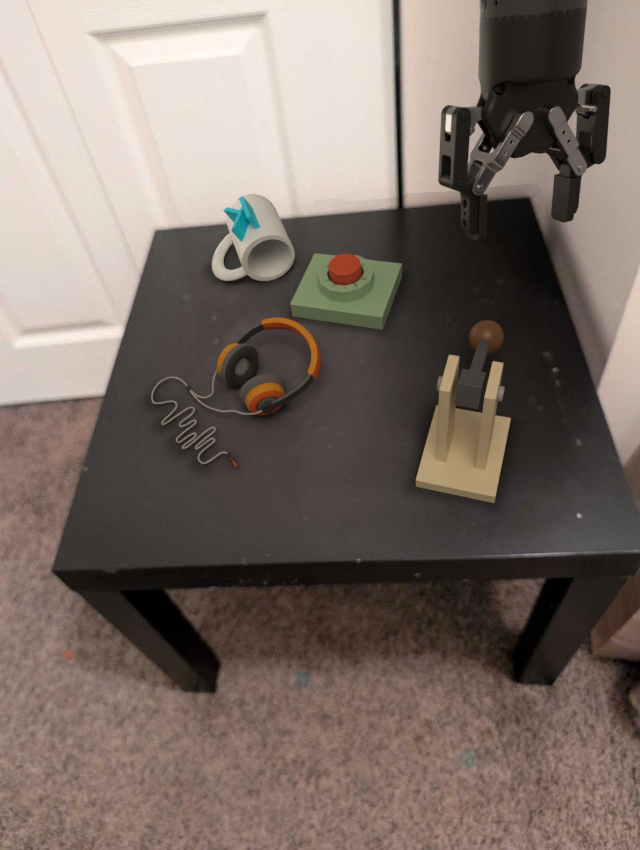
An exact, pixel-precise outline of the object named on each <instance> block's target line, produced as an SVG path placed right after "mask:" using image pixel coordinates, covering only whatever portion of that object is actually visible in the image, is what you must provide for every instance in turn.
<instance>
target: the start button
mask: <svg viewBox="0 0 640 850" xmlns="http://www.w3.org/2000/svg"><path fill="white" fill-rule="evenodd" d="M355 255H356V254H352V253H341V254H337V255H334V256H335V257H334V258H332V259H331V261H330V262H329V274H330V279H331V280H332V281H333V282H334V283H335V284H338V285H349V284H353V283H355V282H357V281H358V280H359V279H360V277H361V274H362V273H361V262H360V260H359V258H358V257H356V256H355Z"/></svg>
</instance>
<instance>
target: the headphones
mask: <svg viewBox="0 0 640 850" xmlns="http://www.w3.org/2000/svg"><path fill="white" fill-rule="evenodd" d="M272 330H285V331H290V332H293V333H295V334H297V335H299V336H300V337H301V338H302V339H303V340H304V341H305V342H306V344H307V345H308V347H309V350H310V353H311V355H310V363H309V366H308V369H307V376H306V377H305V379H304V380H303V381H302V382H301V383H300V384H299V385H297V386H296V387H295V388H293V389H291V390H290V391H289V392H287V386H286V384H285V381H284V379H283V378H282V377H281V376H280V375H278V374H276V373H262V374H257V375H256V376H254V375H255V373H256V371H257V369H258V366H259V359H260V358H259V353H258V350H257V349H256V347H254V346H253V345H251V344H249V343H247V342H248V341H249V340H250V339H251V338H252V337H254V336H255V335H256V334H258V333H261V332H263V331H272ZM216 361H217V362H216V370H215V371H214V373H213V376H212V381H211V393H210V394H209V395H207V396H206V395H205V396H202V395H199V394H197V393H196V392H195V391H193V388H191V386H190V385H188V384H187V383H186V382H185V380H184V379H182V378H180V377H177V376H173V375H171V376H167V377H164V378H162V379H160V380H159V381H158V382H157V383H156V385H155V386H154V387H153V389H152V391H151V394H150V397H151V398H150V399H151V402H152V404H154V405H163V404H168V403H174V405H175V407H174V408H173V409H172V410H171V412H170V413H169V414H168V415H167V416H165V417H164V418H163V419H162V420H161V422H160V425H161V426H165V425H167V424H169V423H170V422H172V421H174V420H175V419H177V418H178V417H179V416H181V415H182V414H183V413H185V412H186V411H188V410H190V409H192V411H191V413H190V414H189V415H187V416H186V417H185V418H183V419H181V420H180V421H179V423H178V426H179V428H185V427H187V426H189V425H190V426H189V427H187V428H186V429H184V430H183V431H181V433H179V434H178V435H177V436H176V438H175V442H176V443H177V444H181V443H182V442H184V441H186V439H188V438H190V437H191V438H190V439H189V440H188V441H186V442H184V444H182V446H181V449H182V450H186V449H189V448H190V447H191V446H192V445H194V444H195V443H196V442H197V441H198V440H199V439H200V438H201V437H203V436H204V435H205V434H206V433H208V432H209V431H211V432H210V433H209V434H208V435H206V436H205V437H203V439H201V440H200V441H199V442H198V443H196V445H195V446H194V450H196V451H198V450H200V449H201V448H202V447H203V446H205V445H206V444H207V445H206V446H205V447H204V448H202V449H201V451H199V453H198V455H197V461H198V463H200V464H201V465H207V464H209V463H211V462H212V461H214V460H215V459H217V458H218V457H219V456H220V455H222V454H224V455H225V456H226V458H227V460H228V461H229V462H230V463H232V464H233V465H234V467H235V468H238V464H237V463H236V461H235V459H234V457H233V456H232V455H231V454H230V453H229V452H227V451H220V452H218V453H217V454H216V455H214V456H213V457H211V458H210V459H208V460H207V461H201V455H202V454H203V453H204V452H205V451H206V450H208V449H209V448H210V447H211V446H212V445H214V444H215V443H216V440H217V439H216V438H215V437H211V436H213V434H215V433H216V431H217V427H216V426H210V427H208V428H207V429H205V430H204V431H203V432H202V433H201V434H199V435H198V433H197V432H195V431H194V432H191V433H189V434H187V435H186V436H185V437H184V438H182V439H180V440H179V438H181V437H182V436H183V435H184V434H185V433H186V432H188V431H189V430H191V429H192V428H193V427H195V425H196V424H197V423H198V421H197V419H191V420H190V421H188V422H186V423H185V424H183V423H184V422H185V421H187V420H188V419H190V418H191V417H192V416H193V415H194V414H195V412H196V408H195V407H194V406H187V407H186V408H184V409H183V410H181V411H180V412H178V413H177V414H175V415H174V416H172V415H173V414H174V413H175V412H176V410H178V406H179V405H178V402H177V401H176V400H172V399H171V400H166V401H165V400H164V401H158V402H156V401H155V400H154V394H155V391H156V389H157V388H158V386H160V384H161V383H164V382H165V381H167V380H171V379H176V380H178V381H180V382H181V383H183V385H184V386H185V389H186V390H187V392H188V393H190V394H191V396H193V398H194V399H195V400H196V401H197V402H198V403H199V404H200V405H202V406H203V407H205V408H207V409H209V410H211V411H215V412H219V413H236V414H240V415H244V416H253V415H255V416H267V415H271V414H274V413H275V412H277V411H278V410H279V409H281V408H282V406H283V405H286V404H288V403H289V402H291V401H292V400H294V399H296V398H297V397H299V396H300V395H301V394H302V393H305V391H306V390H307V389H308V388H309V387H310V386H311V385H312V383H313V382H314V380H317V379H318V377H319V375H320V372H321V371H320V370H321V367H322V356H321V350H320V346H319V344H318V342H317V340H316V339H315V338H314V336H313V335H312V333H310V331H309V330H307V329H306V328H305V327H304V326H303V325H302V324H301V323H299V322H297V321H295V320H293V319H290V318H286V317H268V318H264V319H262V321H261V322H258V323H257V324H255V325H253V326H251V327H250V328H248V329H247V330H245V331H244V333H242V334H241V335H240V336H239V337H238V338H237V339H236V340H235V341H234V342H233V343H231V344H228V345H227V346H226V347H225V348H223V349H222V351H221V352H220V354H219V356H218V358H217V360H216ZM217 374H218V375H219V376H220V378H221V380H222V381H223V383H225V384H226V385H227V386H229V387H231V388H233V389H235V388H239V391H238V396H239V400H240V402H241V405H242V406H243V407H245V408H246V409H247V410H248V411H249V412H242V411H239V410H236V409H227V410H222V409H219V408H215V407H214V408H213V407H211V406H209V405H207V404H206V403H204V402H203V401H202V400H200V399H204V400H205V399H209V398H210V397H212V396H213V395H214V393H215V381H216V376H217ZM286 392H287V393H286ZM171 416H172V417H171ZM170 417H171V418H170ZM169 418H170V419H169ZM167 419H168V420H167ZM192 423H193V424H192ZM193 435H194V436H193ZM192 436H193V437H192ZM211 441H212V442H211ZM209 442H210V443H209ZM208 443H209V444H208Z"/></svg>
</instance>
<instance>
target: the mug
mask: <svg viewBox="0 0 640 850" xmlns="http://www.w3.org/2000/svg"><path fill="white" fill-rule="evenodd" d="M222 211H223V213H225V214H226V226H227V230H228V232H229V233H228V234H227V235H225V236H224V238H223V239H222V240H221V241H220V242H219V244H218V246H217V247H216V249H215V251H214V253H213V256H212V259H211V270H212V273H213V275H214V276H215V277H216V278H217V279H218V280H220V281H223V282H234V281H237V280H240V279H242V278H244V277H246V276H248V277H249V278H251V279H252V280H256V281H259V282H269V281H273V280H277V279H279V278H280V277H282V276H284V275H285V274H286V273H287V272H288V271H289V270H290V269H291V267H292V266H293V264H294V261H295V258H296V253H295V248H294V246H293V243H292V241H291V239H290V237H289V235H288V232H287V231H286V228H285V225H284V224H283V222H282V220H281V218H280V215H279V213H278V210H277V208H276V207H275V205H274V204H273V202H272V201H271V200H270V199H268V198H267V197H265V196H264V195H260V194H257V193H249V194H245V195H242V196H239V197H238V198H237V199H236V200H234V201H233V202H232V204H231V205H230V207H229V206H228V207H226V208H223V210H222ZM232 245H233V247H234V248H235V251H236V255H237V257H238V259H239V262H240V265H241V266H240V267H237V268H235V269H228V268H226V266H225V262H224V261H225V257H226V254H227V252H228V250H229V249H231V246H232Z"/></svg>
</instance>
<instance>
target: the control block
mask: <svg viewBox="0 0 640 850" xmlns="http://www.w3.org/2000/svg"><path fill="white" fill-rule="evenodd" d="M354 255H355V256H356V257H358V258H359V260H360V262H361V273H362V274H361V277H360V279H359V280H358V281H357V282H355V283H353V284H349V285H338V284H335V283H334V282H333V281H332V280H331V279H330V274H329V262H330V261H331V259H332V258H334V257H335V256H336V255H334V254H333V255H332V254H325V253H316V252H315V253H314V254H313V255H312V258H311V259H310V262H309V263H308V266H307V267H306V270H305V272H304V274H303V276H302V279H301V280H300V282H299V285H298V287H297V288H296V291H295V292H294V295H293V297H292V299H291V301H290V303H289V306H290V312H291V316H292V317H293V318H298V319H307V320H312V321H313V320H314V321H320V322H327V323H334V324H340V325H347V326H354V327H360V328H366V329H374V330H381V331H384V328H385V325H386V323H387V320H388V317H389V314H390V312H391V308H392V306H393V304H394V302H395V301H394V300H395V298H396V295H397V292H398V290H399V287H400V285H401V282H402V278H403V263H400V262H392V261H384V260H374V259H367V258H365V257H363V256H362V255H357V254H354Z"/></svg>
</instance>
